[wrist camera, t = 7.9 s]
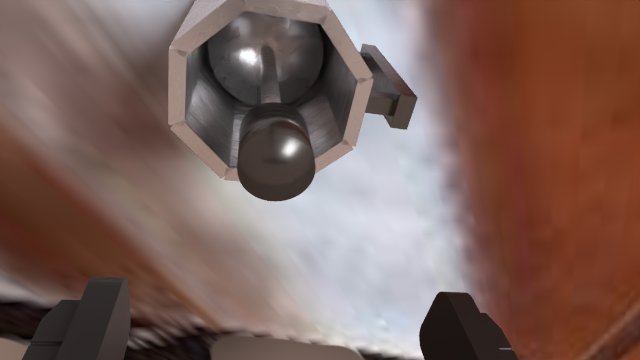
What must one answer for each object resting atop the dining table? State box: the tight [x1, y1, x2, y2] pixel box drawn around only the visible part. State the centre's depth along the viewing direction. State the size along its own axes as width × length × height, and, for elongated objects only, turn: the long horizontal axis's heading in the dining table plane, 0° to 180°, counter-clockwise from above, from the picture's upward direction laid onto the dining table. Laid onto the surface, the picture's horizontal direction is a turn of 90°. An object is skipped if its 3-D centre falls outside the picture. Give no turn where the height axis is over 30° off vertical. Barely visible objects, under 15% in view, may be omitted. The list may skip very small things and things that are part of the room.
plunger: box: [208, 11, 323, 201], centre depth 23 cm, size 8×8×15 cm
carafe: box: [168, 0, 417, 181], centre depth 28 cm, size 10×13×14 cm
